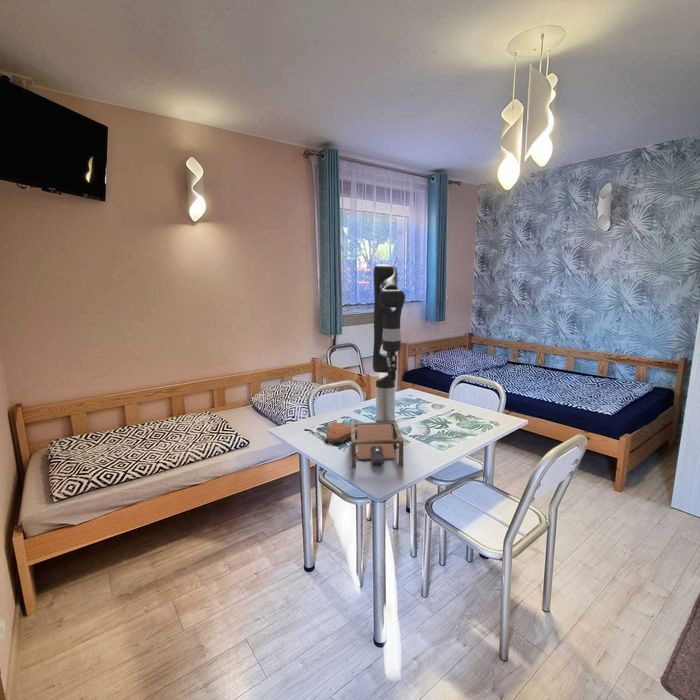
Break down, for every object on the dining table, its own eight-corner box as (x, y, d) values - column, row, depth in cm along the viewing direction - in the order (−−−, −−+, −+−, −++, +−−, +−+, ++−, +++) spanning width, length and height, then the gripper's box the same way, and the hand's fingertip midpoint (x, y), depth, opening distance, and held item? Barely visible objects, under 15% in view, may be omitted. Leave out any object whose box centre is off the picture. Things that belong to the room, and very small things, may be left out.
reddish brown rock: (314, 425, 170) (337, 421, 181) (314, 440, 170) (338, 435, 181) (337, 429, 160) (361, 424, 171) (338, 445, 160) (361, 439, 171)
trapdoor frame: (351, 445, 161) (350, 423, 159) (396, 444, 161) (396, 422, 159) (352, 467, 142) (351, 442, 140) (403, 466, 142) (403, 440, 141)
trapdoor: (356, 425, 157) (356, 424, 157) (390, 425, 158) (391, 423, 157) (358, 459, 148) (358, 458, 147) (394, 458, 148) (394, 457, 148)
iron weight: (370, 445, 146) (371, 456, 141) (383, 445, 146) (384, 455, 141) (370, 455, 148) (371, 466, 143) (382, 455, 148) (384, 466, 143)
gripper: (380, 336, 164) (381, 373, 167) (384, 341, 150) (384, 381, 153) (398, 336, 164) (398, 373, 167) (403, 341, 150) (403, 381, 153)
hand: (391, 377), depth 160 cm, fingers open, 8 cm apart
